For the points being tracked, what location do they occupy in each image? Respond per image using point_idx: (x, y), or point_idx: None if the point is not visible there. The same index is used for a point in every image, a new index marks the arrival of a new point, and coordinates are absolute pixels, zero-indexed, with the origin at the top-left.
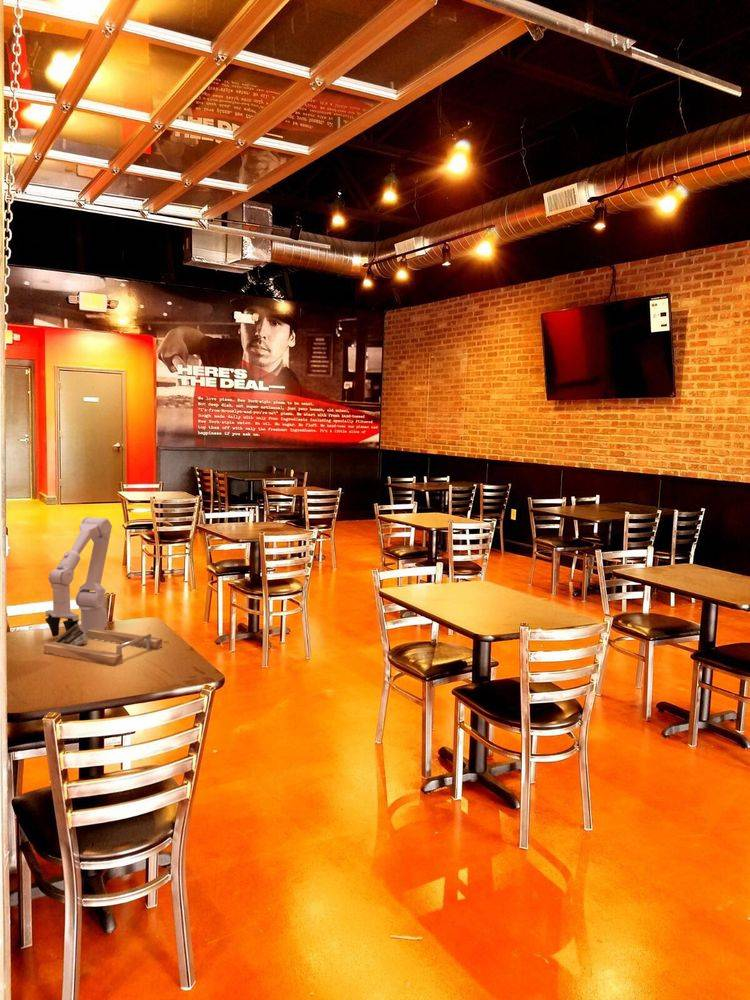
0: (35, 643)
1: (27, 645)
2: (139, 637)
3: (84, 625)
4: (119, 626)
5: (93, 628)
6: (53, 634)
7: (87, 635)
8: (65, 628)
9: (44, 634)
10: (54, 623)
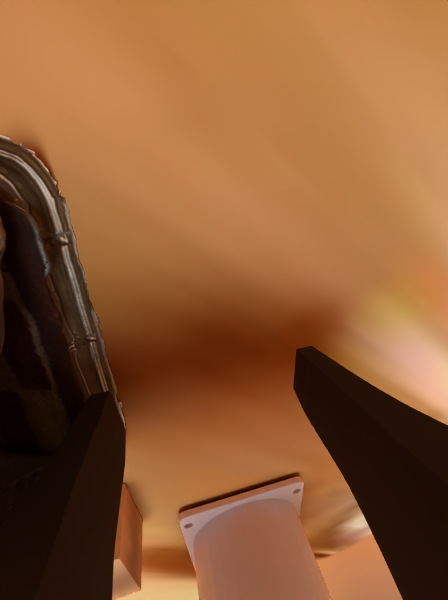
0: (381, 181)
1: (420, 67)
2: None
3: (254, 556)
4: (192, 590)
5: (134, 584)
6: (309, 361)
7: (120, 508)
8: (52, 541)
9: (444, 357)
10: (401, 502)
